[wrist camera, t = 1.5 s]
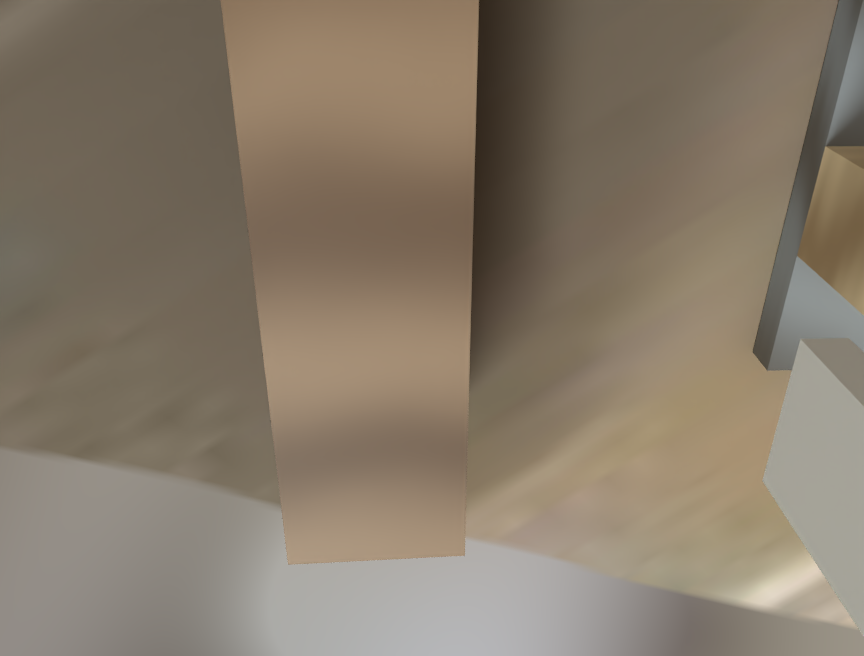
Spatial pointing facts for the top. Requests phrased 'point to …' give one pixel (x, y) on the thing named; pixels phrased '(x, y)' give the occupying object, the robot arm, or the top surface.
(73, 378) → the top surface
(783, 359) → the fulcrum
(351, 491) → the walnut beam
